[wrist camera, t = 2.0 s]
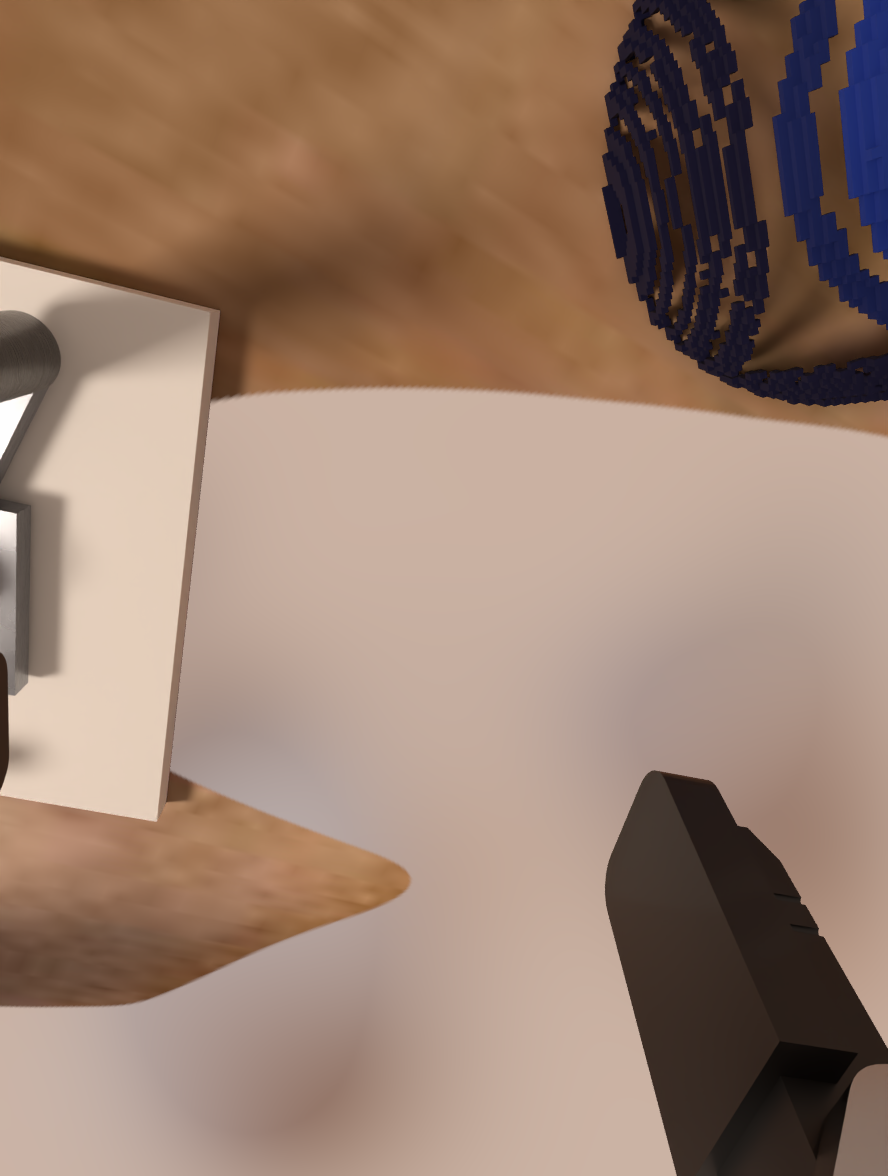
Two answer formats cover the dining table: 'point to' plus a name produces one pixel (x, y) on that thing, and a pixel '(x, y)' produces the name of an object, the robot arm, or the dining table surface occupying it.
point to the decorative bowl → (750, 188)
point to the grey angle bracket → (3, 414)
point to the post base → (107, 538)
